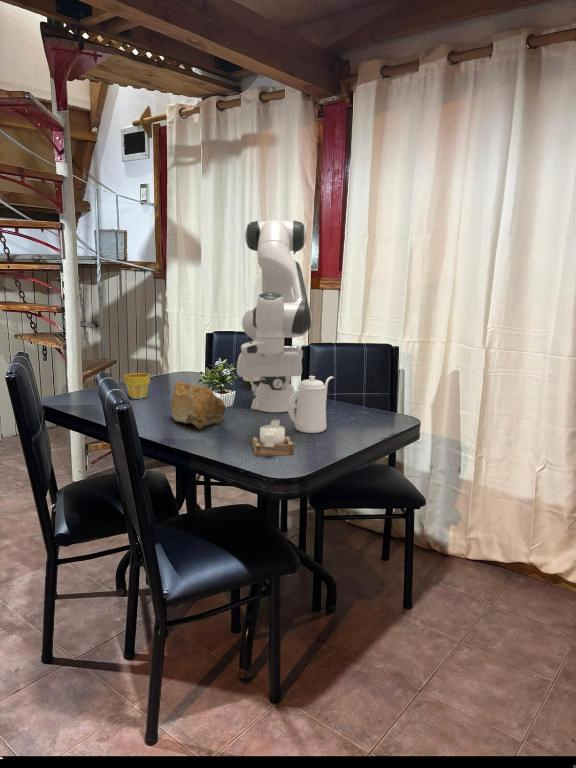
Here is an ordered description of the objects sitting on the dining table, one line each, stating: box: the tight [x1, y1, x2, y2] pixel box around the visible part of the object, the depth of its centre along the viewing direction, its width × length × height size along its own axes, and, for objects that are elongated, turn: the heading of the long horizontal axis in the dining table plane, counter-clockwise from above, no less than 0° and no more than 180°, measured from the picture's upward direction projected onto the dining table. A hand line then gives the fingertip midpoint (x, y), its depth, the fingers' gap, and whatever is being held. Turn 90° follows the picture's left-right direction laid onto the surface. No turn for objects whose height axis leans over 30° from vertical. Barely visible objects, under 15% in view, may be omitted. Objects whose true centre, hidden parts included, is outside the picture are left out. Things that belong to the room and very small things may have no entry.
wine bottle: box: [242, 336, 260, 391], centre depth 259 cm, size 8×8×30 cm
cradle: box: [252, 435, 295, 457], centre depth 175 cm, size 9×11×3 cm
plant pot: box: [123, 372, 151, 398], centre depth 239 cm, size 10×10×10 cm
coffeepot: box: [287, 375, 335, 434], centre depth 197 cm, size 11×25×19 cm, turn 141°
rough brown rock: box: [171, 381, 227, 430], centre depth 203 cm, size 23×17×15 cm
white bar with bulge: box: [259, 419, 286, 447], centre depth 176 cm, size 8×17×7 cm, turn 175°
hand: (269, 390), depth 179 cm, fingers open, 8 cm apart
